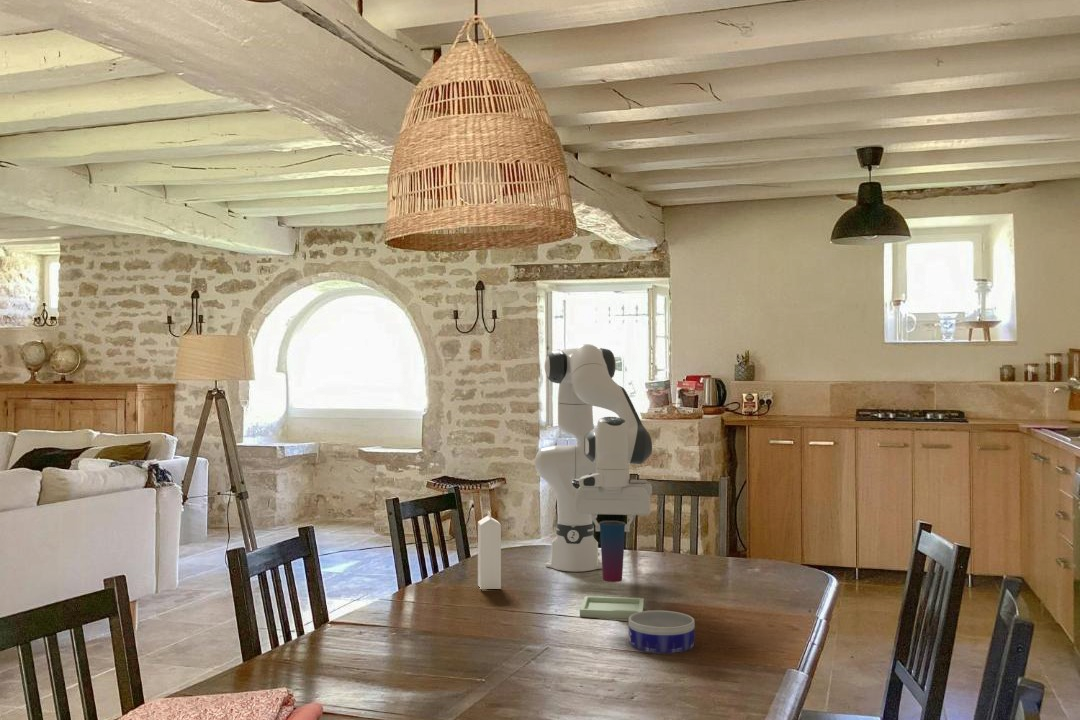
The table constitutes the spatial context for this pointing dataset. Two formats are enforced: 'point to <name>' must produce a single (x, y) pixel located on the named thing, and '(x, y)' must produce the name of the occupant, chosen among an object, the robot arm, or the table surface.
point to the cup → (612, 549)
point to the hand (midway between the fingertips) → (612, 531)
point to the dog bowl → (661, 631)
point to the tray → (610, 607)
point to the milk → (489, 553)
